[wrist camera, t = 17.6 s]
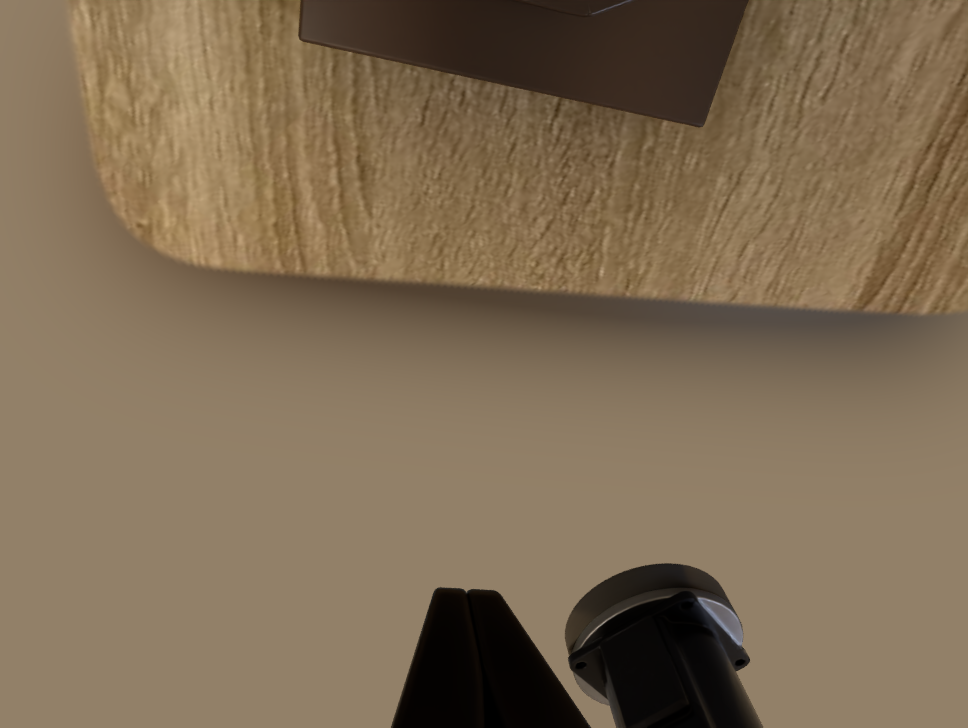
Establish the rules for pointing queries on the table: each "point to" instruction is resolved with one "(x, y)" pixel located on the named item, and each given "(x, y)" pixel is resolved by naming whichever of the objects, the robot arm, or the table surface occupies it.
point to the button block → (550, 45)
